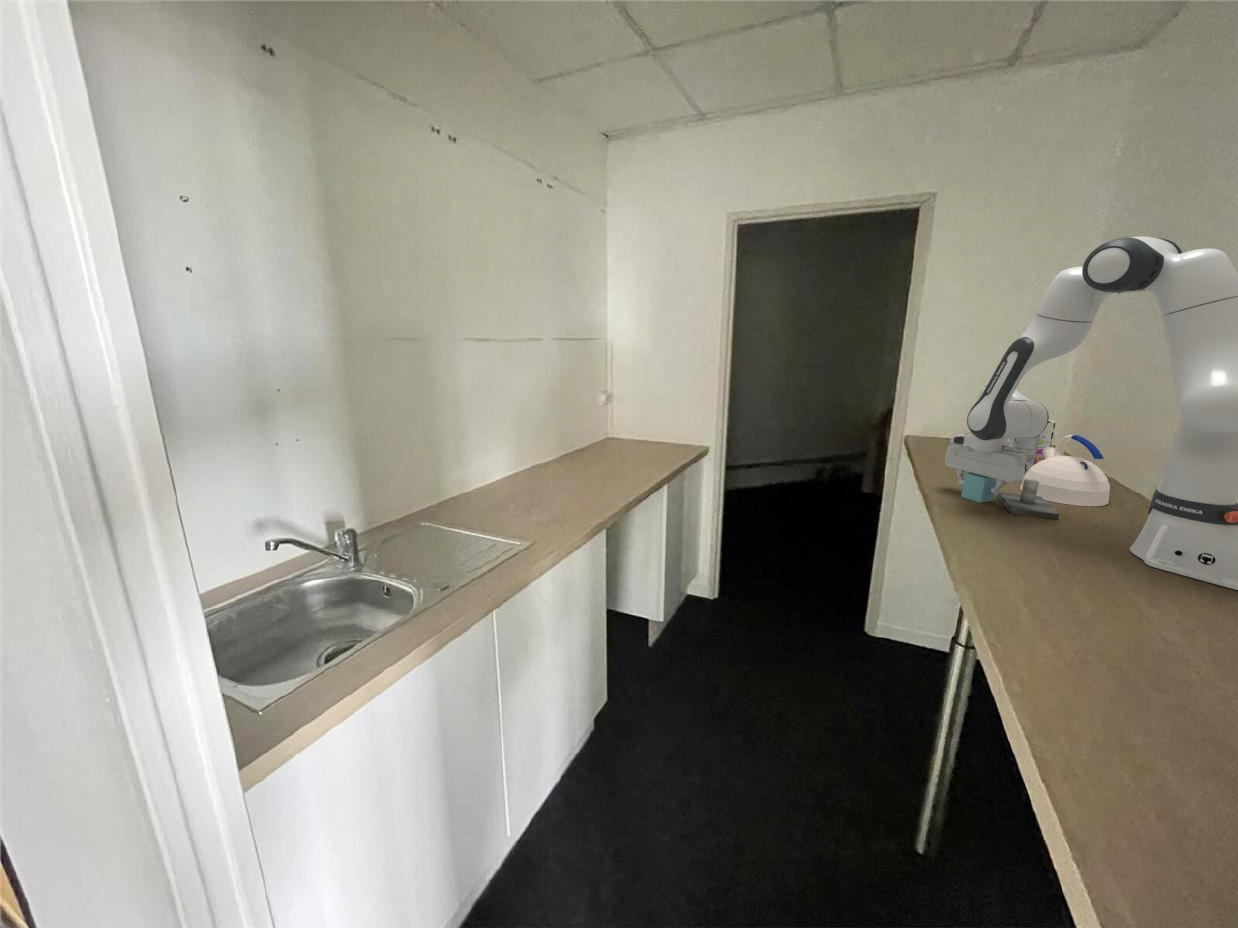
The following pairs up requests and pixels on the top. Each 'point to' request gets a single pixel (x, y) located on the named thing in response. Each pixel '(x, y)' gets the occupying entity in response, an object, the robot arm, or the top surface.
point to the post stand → (1028, 502)
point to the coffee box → (1027, 449)
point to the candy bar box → (1041, 441)
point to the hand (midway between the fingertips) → (977, 489)
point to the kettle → (1070, 476)
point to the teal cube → (978, 487)
